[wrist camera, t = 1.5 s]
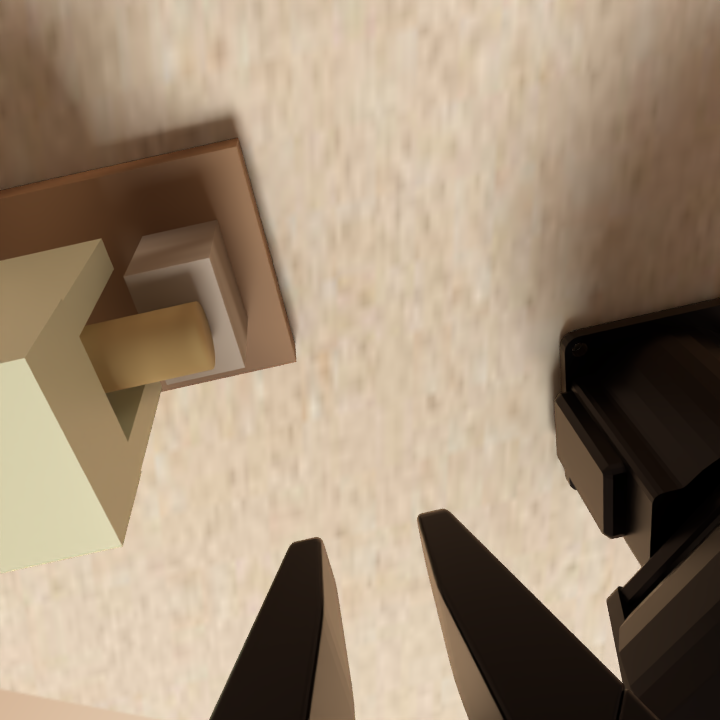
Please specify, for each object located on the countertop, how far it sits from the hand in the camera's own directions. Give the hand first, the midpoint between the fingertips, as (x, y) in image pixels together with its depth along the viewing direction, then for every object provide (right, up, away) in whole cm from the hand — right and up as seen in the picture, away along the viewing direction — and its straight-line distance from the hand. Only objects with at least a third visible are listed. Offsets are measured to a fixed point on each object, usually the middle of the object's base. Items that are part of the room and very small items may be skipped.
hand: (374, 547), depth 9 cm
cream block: (-8, +3, +8) cm, 12 cm away
